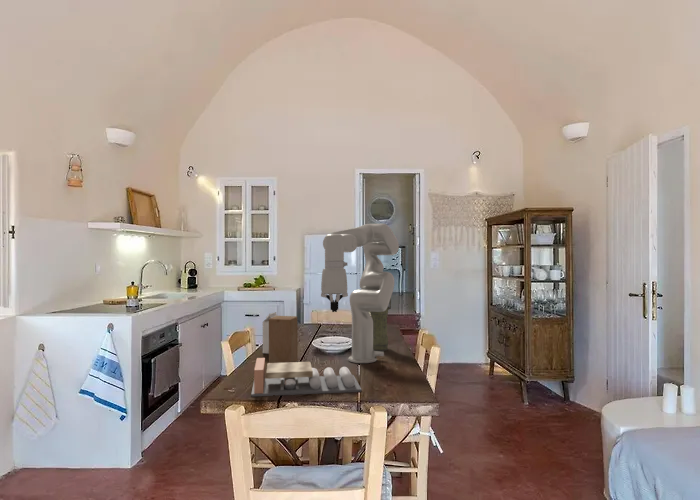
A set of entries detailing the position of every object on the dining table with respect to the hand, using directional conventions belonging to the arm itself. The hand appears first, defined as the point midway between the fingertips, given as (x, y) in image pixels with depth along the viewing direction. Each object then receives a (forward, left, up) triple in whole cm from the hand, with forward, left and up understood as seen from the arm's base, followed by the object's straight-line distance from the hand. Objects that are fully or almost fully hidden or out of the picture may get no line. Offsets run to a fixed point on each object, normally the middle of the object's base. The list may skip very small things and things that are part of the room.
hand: (334, 311), depth 190 cm
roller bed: (+12, +14, -25) cm, 31 cm away
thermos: (-27, -44, -25) cm, 57 cm away
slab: (+18, +14, -20) cm, 30 cm away
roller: (+18, +14, -24) cm, 33 cm away
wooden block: (+20, -22, -25) cm, 39 cm away
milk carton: (+25, -44, -25) cm, 57 cm away
